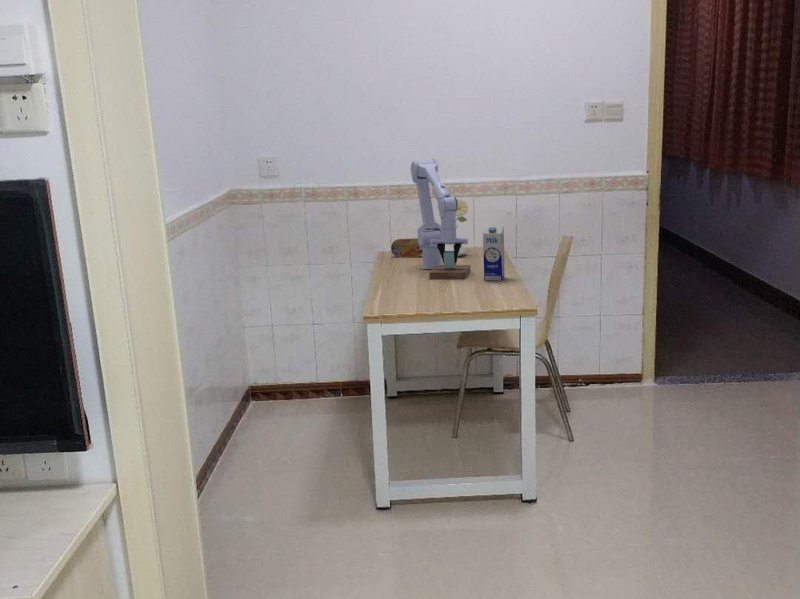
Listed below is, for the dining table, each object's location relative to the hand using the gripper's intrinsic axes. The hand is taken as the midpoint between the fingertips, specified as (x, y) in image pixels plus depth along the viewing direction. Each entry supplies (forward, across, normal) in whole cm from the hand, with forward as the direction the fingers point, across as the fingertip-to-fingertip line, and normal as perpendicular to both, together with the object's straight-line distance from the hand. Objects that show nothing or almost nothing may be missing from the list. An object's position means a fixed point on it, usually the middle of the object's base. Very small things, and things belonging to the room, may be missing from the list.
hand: (449, 262), depth 310 cm
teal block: (+2, 0, 0) cm, 2 cm away
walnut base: (+5, 0, 0) cm, 5 cm away
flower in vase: (+5, -4, +40) cm, 41 cm away
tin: (+5, -25, +39) cm, 47 cm away
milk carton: (+5, +18, -7) cm, 20 cm away
